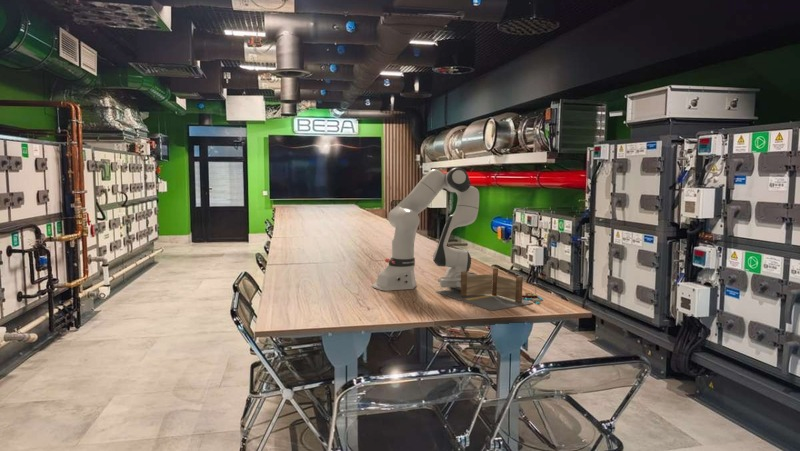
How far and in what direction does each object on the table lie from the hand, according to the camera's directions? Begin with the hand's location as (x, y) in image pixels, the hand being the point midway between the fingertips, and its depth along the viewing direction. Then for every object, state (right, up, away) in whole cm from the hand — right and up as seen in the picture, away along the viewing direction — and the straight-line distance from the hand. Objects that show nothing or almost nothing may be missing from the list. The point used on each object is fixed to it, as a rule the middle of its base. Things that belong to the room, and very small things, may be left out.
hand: (464, 286), depth 238 cm
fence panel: (+6, -4, +1) cm, 7 cm away
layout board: (+8, -6, +1) cm, 10 cm away
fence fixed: (+18, -6, -2) cm, 20 cm away
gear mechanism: (+30, -7, 0) cm, 31 cm away
